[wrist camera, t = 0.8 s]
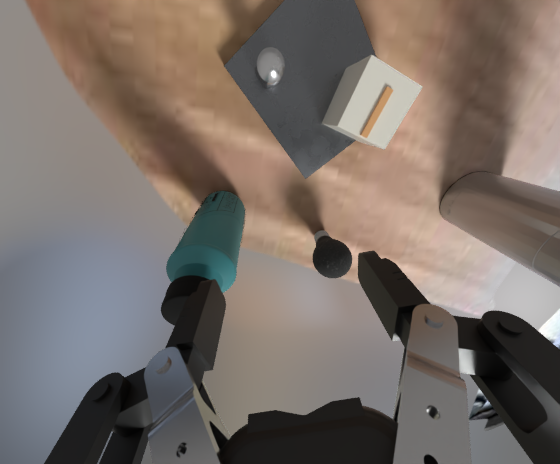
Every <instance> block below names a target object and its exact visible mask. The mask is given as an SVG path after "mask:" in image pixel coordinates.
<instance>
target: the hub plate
mask: <svg viewBox="0 0 560 464" xmlns="http://www.w3.org/2000/svg"><path fill="white" fill-rule="evenodd" d="M370 55H373V56H375V57H376V55H375V53H374V50H373V47H372V45H371V42H370V40H369V37H368V34H367V32H366V29H365V27H364V24H363V21H362V19H361V16H360V14H359V11H358V8H357V6H356V3H355V1H354V0H284V1H283V3H282V4H281V5H280V6H279V7H278V8H277V9H276V10H275V11H274V12H273V13H272V14H271V16H270V17H269V18H268V19H267V20H266V21H265V22H264V23H263V24H262V25H261V26H260V27H259V29H258V30H257V31H256V32H255V33H254V34H253V35H252V36H251V37H250V38H249V39H248V40H247V42H246V43H245V44H244V45H243V46H242V47H241V48H240V49H239V50H238V51H237V52H236V53H235V55H234V56H233V57H232V58H231V59H230V60H229V61H228V62H227V63H226V64H225V65H224V67H225V68H226V69H227V71H228V72H229V73H230V75H231V76H232V78H233V79H234V80H235V82H236V83H237V85H238V86H239V87H240V89H241V90H242V91H243V93H244V94H245V96H246V97H247V98H248V100H249V101H250V103H251V104H252V105H253V107H254V108H255V109H256V111H257V112H258V114H259V115H260V116H261V118H262V119H263V121H264V122H265V123H266V125H267V126H268V127H269V129H270V130H271V132H272V133H273V134H274V136H275V137H276V139H277V140H278V141H279V143H280V144H281V145H282V147H283V148H284V150H285V151H286V152H287V154H288V155H289V157H290V158H291V159H292V161H293V162H294V164H295V165H296V166H297V168H298V169H299V170H300V172H301V173H302V175H303V176H304V177H305V179H306V178H307V177H309V176H310V175H311V174H313V173H314V172H315V171H316V170H318V169H319V168H320V167H322V166H323V165H324V164H326V163H327V162H328V161H329V160H331V159H332V158H333V157H335V156H336V155H337V154H339V153H340V152H341V151H343V150H344V149H345V148H346V147H348V146H349V145H350V144H352V143H353V142H354V141H356V140H355V139H353V138H351V137H349V136H346V135H344V134H342V133H340V132H338V131H336V130H334V129H332V128H330V127H328V126H326V125H324V124H322V121H323V119H324V117H325V115H326V112H327V110H328V108H329V106H330V103H331V101H332V99H333V97H334V94H335V92H336V90H337V88H338V85H339V83H340V81H341V79H342V76H343V74H344V72H345V69H346V68H347V67H349V66H351V65H353V64H355V63H357V62H359V61H360V60H362V59H364V58H366V57H368V56H370Z"/></svg>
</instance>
